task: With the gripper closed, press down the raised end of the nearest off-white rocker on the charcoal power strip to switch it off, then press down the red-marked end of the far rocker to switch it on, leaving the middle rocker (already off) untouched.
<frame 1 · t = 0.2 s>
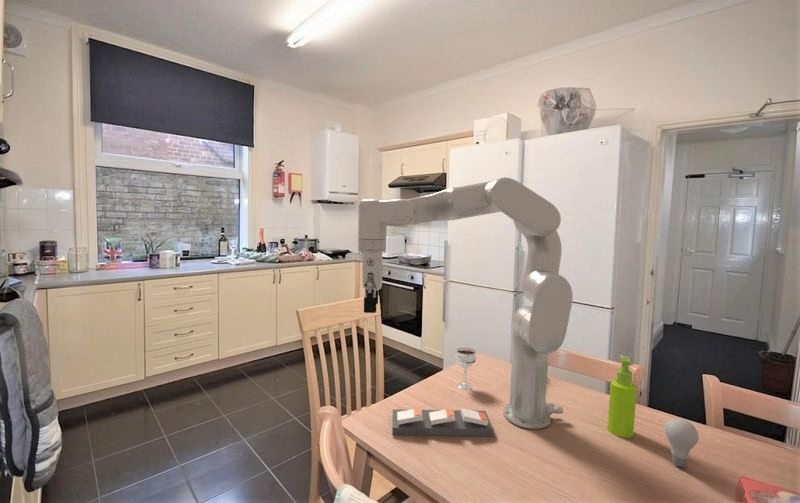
hand: (371, 307, 100), 31 cm above the table, tool pointing down, fingers open, 9 cm apart
rocker near: (474, 416, 97), point 4 cm above the table, hinge at -12.0°
strip: (440, 425, 99), on the table
lightbulb: (678, 466, 84), on the table
rocker middle: (441, 416, 96), point 4 cm above the table, hinge at 12.0°
wineglass: (464, 386, 123), on the table
rocker far: (409, 415, 96), point 4 cm above the table, hinge at 12.0°
soap dispenser: (619, 431, 98), on the table
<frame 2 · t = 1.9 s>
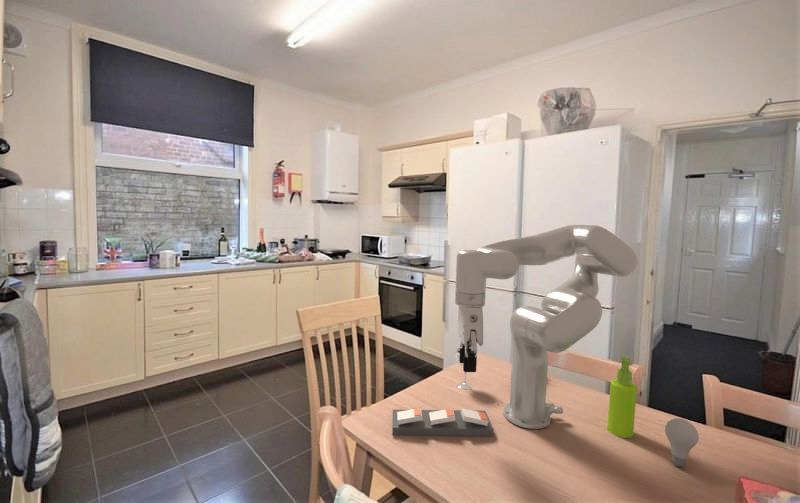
hand: (467, 366, 95), 17 cm above the table, tool pointing down, fingers open, 4 cm apart
nothing on the table moved.
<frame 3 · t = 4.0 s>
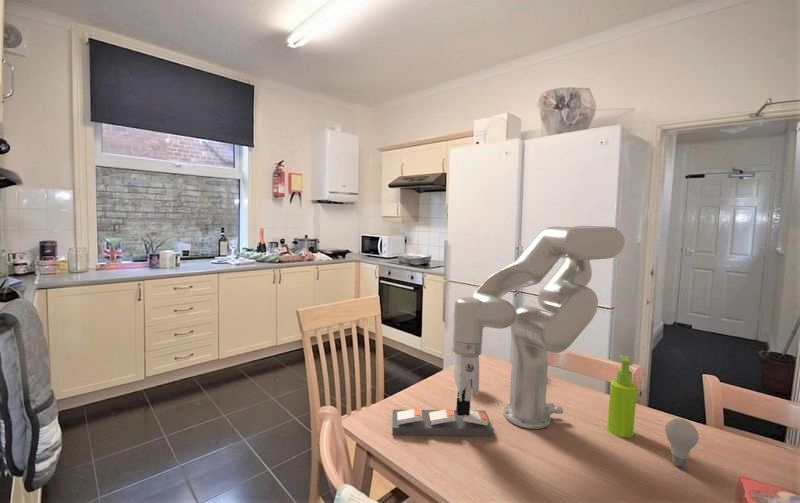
hand: (462, 413, 96), 5 cm above the table, tool pointing down, fingers closed
rocker near: (474, 416, 97), point 4 cm above the table, hinge at -10.5°, touching gripper
everything else where it was.
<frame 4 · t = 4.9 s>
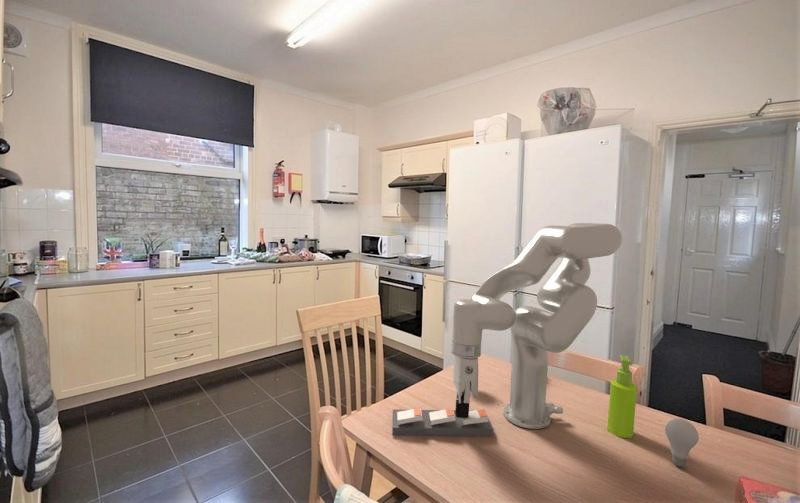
hand: (461, 415, 96), 4 cm above the table, tool pointing down, fingers closed
rocker near: (474, 416, 97), point 4 cm above the table, hinge at 8.3°, touching gripper
everything else where it was.
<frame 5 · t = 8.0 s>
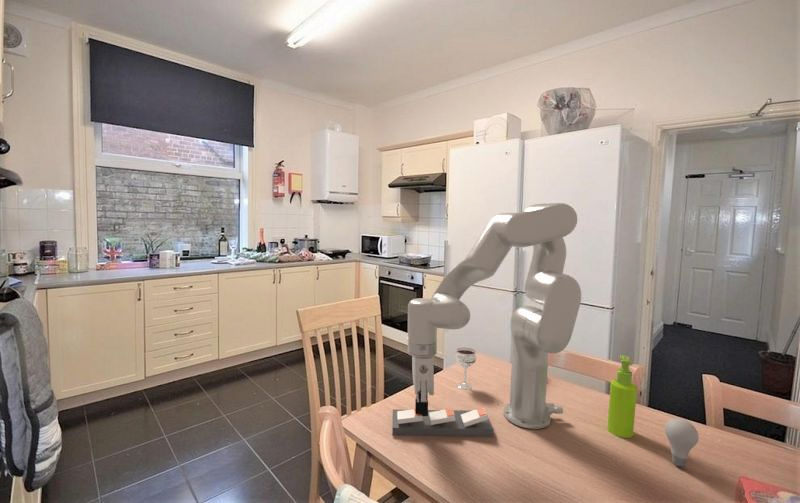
hand: (421, 414, 96), 4 cm above the table, tool pointing down, fingers closed
rocker near: (474, 416, 97), point 4 cm above the table, hinge at 20.6°
rocker far: (409, 415, 96), point 4 cm above the table, hinge at 8.5°, touching gripper
everything else where it was.
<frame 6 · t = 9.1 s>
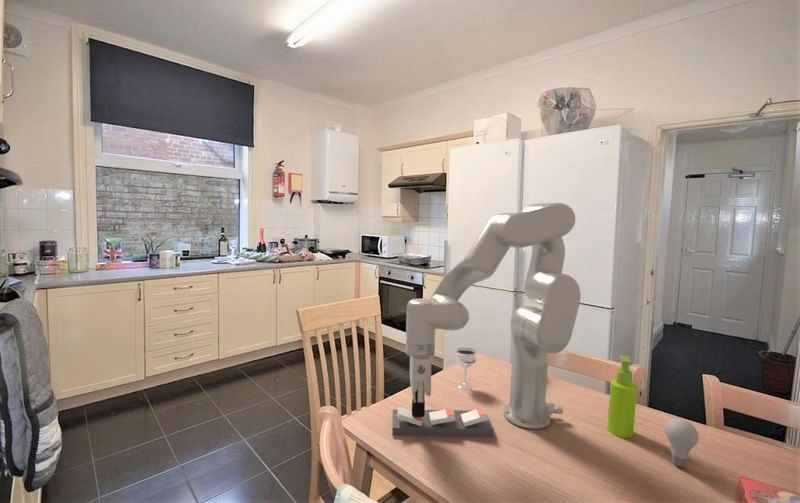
hand: (418, 415, 96), 4 cm above the table, tool pointing down, fingers closed
rocker near: (474, 416, 97), point 4 cm above the table, hinge at 19.3°
rocker far: (409, 415, 96), point 4 cm above the table, hinge at -19.2°, touching gripper
everything else where it was.
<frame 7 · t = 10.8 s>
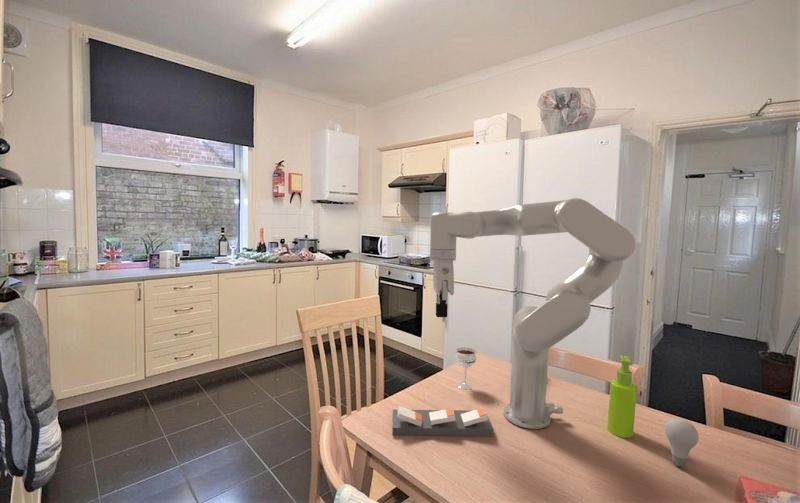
hand: (441, 316, 108), 27 cm above the table, tool pointing down, fingers closed
rocker near: (474, 416, 97), point 4 cm above the table, hinge at 18.2°
rocker far: (409, 415, 96), point 4 cm above the table, hinge at -21.0°, touching strip
everything else where it was.
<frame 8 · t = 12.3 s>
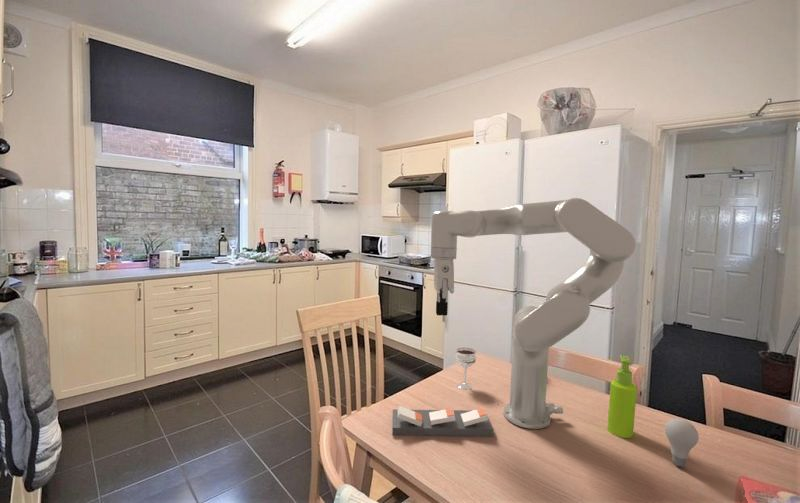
hand: (441, 314, 109), 27 cm above the table, tool pointing down, fingers closed
rocker near: (474, 416, 97), point 4 cm above the table, hinge at 17.8°
rocker far: (409, 415, 96), point 4 cm above the table, hinge at -21.8°, touching strip
everything else where it was.
at the end: rocker near at +18° (first picture: -12°); rocker far at -22° (first picture: +12°); rocker middle at +12° (first picture: +12°) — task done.
